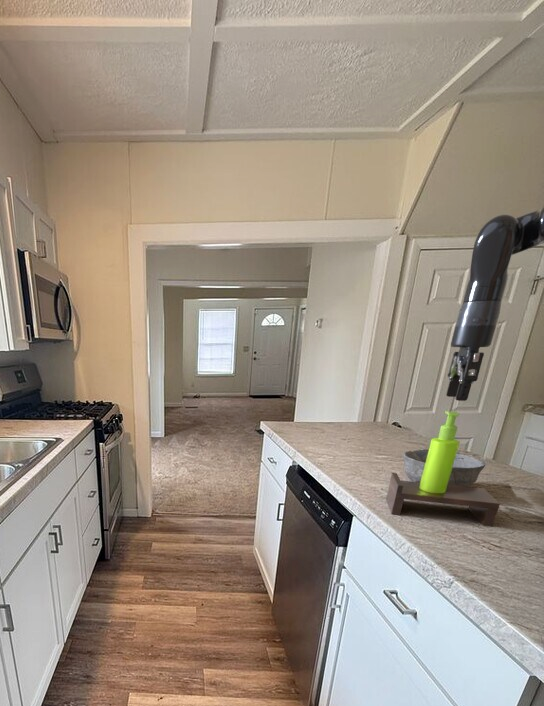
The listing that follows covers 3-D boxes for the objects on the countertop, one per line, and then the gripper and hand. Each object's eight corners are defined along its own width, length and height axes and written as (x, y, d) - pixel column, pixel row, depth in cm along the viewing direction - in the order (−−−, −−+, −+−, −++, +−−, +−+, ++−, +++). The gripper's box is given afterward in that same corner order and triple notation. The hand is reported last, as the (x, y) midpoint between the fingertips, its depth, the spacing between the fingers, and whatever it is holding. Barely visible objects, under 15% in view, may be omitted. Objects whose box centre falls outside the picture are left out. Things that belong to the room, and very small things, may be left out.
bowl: (479, 506, 110) (490, 471, 107) (394, 493, 120) (402, 460, 117) (472, 485, 127) (482, 454, 123) (398, 475, 137) (405, 446, 133)
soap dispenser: (442, 486, 108) (463, 410, 100) (447, 494, 102) (470, 414, 94) (417, 483, 110) (436, 409, 102) (420, 491, 104) (440, 413, 96)
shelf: (476, 509, 108) (486, 481, 105) (492, 526, 98) (502, 495, 95) (385, 499, 116) (391, 472, 113) (391, 514, 106) (398, 485, 102)
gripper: (508, 322, 83) (484, 402, 89) (485, 325, 95) (465, 395, 101) (465, 323, 85) (444, 401, 92) (448, 326, 98) (431, 394, 104)
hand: (455, 398), depth 96 cm, fingers open, 8 cm apart
